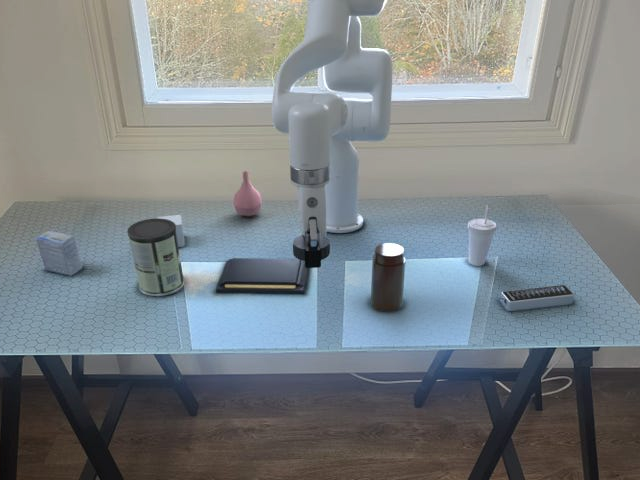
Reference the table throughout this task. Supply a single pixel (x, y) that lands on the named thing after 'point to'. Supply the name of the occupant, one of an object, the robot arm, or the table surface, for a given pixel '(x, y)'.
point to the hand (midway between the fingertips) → (311, 257)
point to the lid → (300, 247)
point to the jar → (388, 277)
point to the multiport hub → (536, 298)
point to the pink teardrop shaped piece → (247, 198)
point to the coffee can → (156, 256)
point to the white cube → (177, 228)
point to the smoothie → (480, 239)
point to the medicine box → (59, 253)
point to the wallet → (263, 276)
